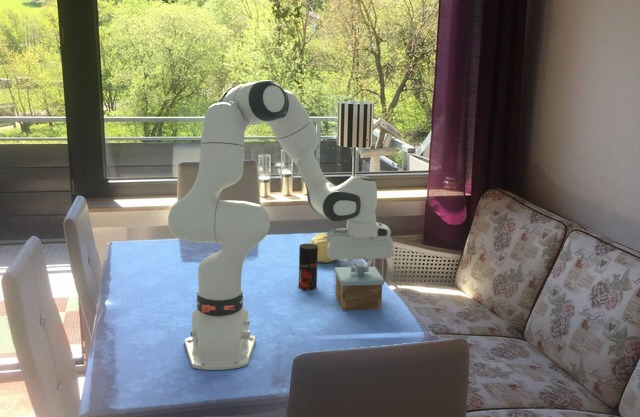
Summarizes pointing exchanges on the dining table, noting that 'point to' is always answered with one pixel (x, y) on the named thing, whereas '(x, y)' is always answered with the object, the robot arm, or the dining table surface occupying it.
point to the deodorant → (308, 266)
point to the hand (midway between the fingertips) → (359, 271)
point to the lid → (359, 275)
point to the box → (358, 296)
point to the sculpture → (321, 247)
